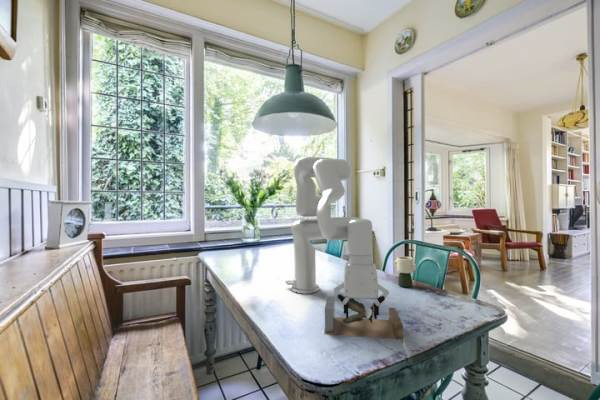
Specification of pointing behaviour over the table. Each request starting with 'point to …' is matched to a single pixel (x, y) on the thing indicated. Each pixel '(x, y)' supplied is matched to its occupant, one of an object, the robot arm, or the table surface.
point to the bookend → (330, 314)
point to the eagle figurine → (361, 311)
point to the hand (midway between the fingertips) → (361, 316)
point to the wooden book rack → (371, 327)
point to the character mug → (405, 270)
